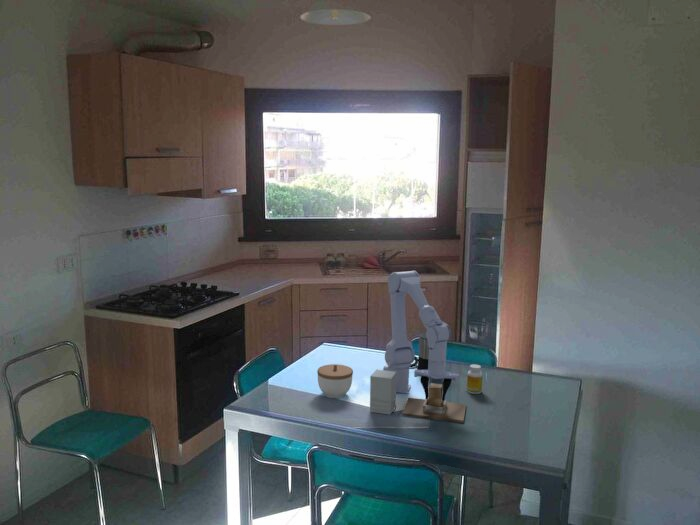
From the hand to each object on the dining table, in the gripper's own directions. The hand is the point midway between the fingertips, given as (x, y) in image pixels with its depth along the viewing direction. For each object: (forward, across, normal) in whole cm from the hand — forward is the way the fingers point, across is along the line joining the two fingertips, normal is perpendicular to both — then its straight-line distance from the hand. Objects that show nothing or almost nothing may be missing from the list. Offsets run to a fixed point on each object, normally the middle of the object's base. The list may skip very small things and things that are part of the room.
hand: (435, 398), depth 204 cm
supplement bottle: (+4, +12, +22) cm, 25 cm away
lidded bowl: (+4, -36, +4) cm, 36 cm away
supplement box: (+4, -17, -4) cm, 18 cm away
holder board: (+4, 0, 0) cm, 4 cm away
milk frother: (+4, -10, +41) cm, 42 cm away
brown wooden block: (+3, 0, 0) cm, 3 cm away
